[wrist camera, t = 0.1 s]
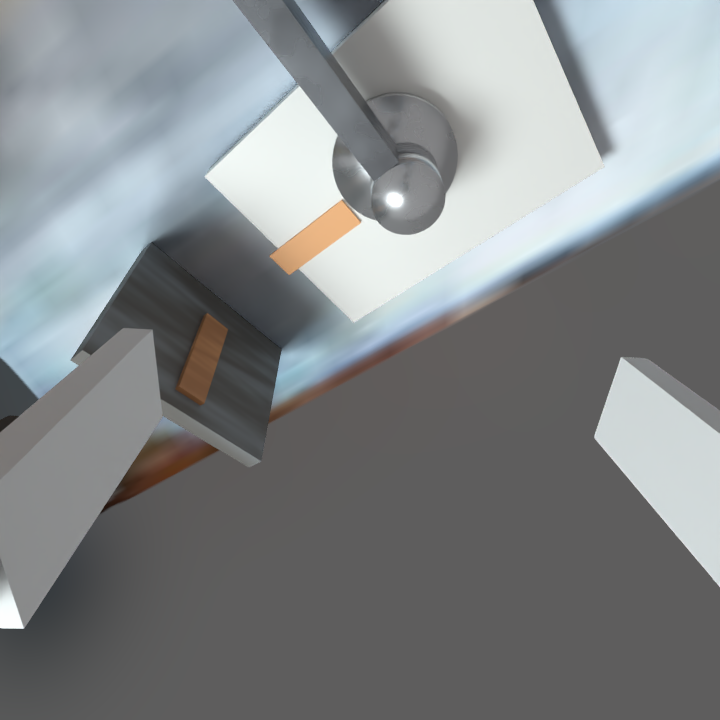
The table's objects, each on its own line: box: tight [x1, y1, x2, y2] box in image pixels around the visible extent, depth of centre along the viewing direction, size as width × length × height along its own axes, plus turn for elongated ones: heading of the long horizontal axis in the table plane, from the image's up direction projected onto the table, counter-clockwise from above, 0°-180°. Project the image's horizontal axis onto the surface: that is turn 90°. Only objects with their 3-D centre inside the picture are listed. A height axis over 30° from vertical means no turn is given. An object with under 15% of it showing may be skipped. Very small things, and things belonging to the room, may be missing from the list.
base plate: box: [205, 0, 605, 323], centre depth 36 cm, size 25×18×2 cm
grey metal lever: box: [233, 0, 458, 235], centre depth 30 cm, size 19×9×5 cm, turn 38°
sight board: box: [71, 243, 281, 467], centre depth 41 cm, size 2×16×14 cm, turn 38°
